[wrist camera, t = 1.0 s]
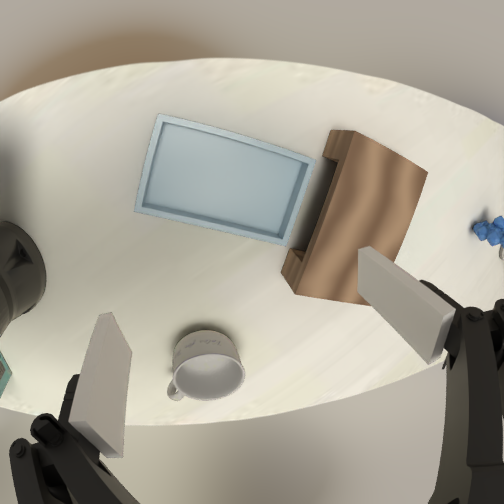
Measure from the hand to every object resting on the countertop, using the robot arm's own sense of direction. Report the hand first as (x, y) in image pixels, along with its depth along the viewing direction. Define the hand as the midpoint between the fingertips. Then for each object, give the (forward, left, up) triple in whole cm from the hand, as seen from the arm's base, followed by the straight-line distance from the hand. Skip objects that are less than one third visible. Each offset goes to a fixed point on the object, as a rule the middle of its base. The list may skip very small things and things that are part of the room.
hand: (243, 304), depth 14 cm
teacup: (+4, -25, -25) cm, 36 cm away
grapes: (+57, +13, -25) cm, 64 cm away
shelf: (+20, +3, -25) cm, 32 cm away
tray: (+1, +3, -25) cm, 25 cm away
